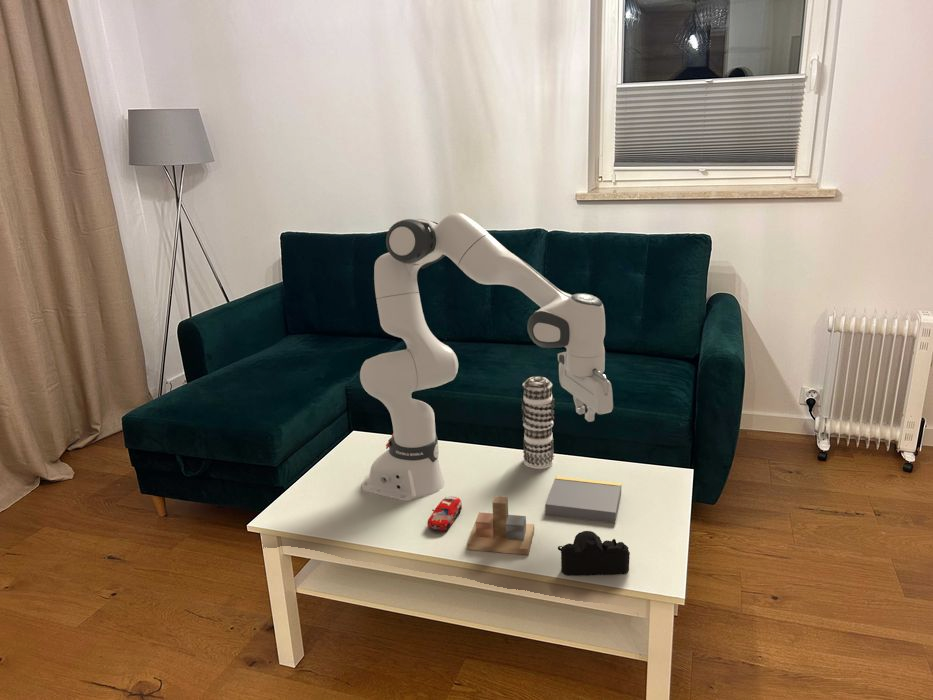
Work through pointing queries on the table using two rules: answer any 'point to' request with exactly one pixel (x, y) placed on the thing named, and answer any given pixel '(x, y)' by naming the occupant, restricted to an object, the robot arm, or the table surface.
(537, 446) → the decorative candle
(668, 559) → the table surface
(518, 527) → the gray cube
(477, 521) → the terracotta crate
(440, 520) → the race car
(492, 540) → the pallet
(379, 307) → the robot arm
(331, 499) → the table surface
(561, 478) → the plate
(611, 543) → the film camera
